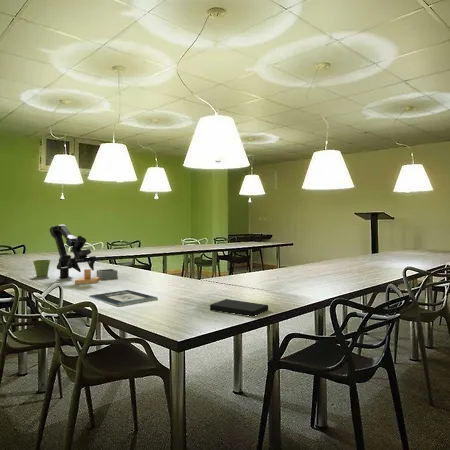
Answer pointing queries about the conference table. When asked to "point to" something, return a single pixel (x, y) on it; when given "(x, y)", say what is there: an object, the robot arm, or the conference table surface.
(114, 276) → the storage box
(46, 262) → the plant pot
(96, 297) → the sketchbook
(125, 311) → the conference table surface
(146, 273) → the conference table surface
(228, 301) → the external hard drive
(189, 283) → the conference table surface
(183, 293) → the conference table surface
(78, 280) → the lid
